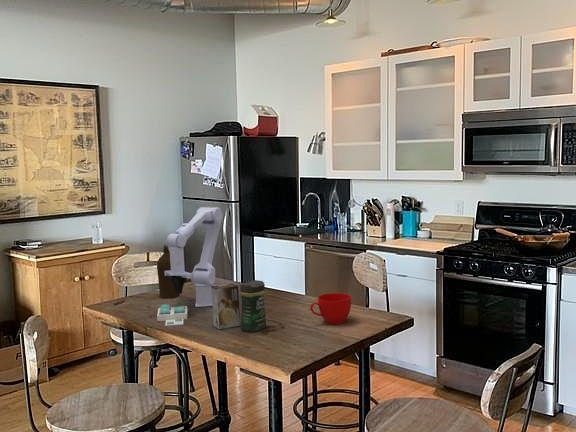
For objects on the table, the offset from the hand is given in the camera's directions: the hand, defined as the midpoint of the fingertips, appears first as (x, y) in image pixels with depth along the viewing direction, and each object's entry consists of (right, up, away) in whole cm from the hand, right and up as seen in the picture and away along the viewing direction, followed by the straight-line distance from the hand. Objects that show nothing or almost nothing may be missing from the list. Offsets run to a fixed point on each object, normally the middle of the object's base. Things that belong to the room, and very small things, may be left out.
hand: (179, 293), depth 251 cm
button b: (+1, -8, -5) cm, 9 cm away
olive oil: (-11, -6, +33) cm, 36 cm away
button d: (-5, -8, -6) cm, 11 cm away
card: (0, -10, -12) cm, 16 cm away
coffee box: (+22, -10, -19) cm, 31 cm away
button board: (-2, -9, -2) cm, 10 cm away
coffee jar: (+33, -11, -24) cm, 42 cm away
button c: (-6, -7, 0) cm, 9 cm away
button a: (0, -8, +1) cm, 8 cm away
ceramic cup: (+63, -9, -19) cm, 66 cm away
